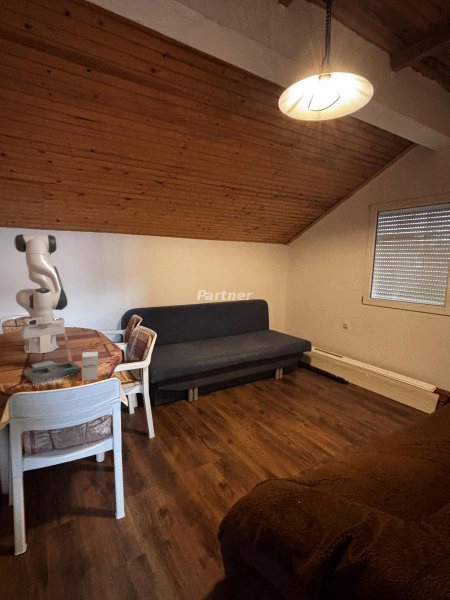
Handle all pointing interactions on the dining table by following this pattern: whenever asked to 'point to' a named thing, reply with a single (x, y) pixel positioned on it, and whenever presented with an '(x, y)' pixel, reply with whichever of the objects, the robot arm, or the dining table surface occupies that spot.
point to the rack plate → (51, 371)
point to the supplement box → (89, 366)
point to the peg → (44, 344)
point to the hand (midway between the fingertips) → (44, 344)
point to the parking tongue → (42, 364)
